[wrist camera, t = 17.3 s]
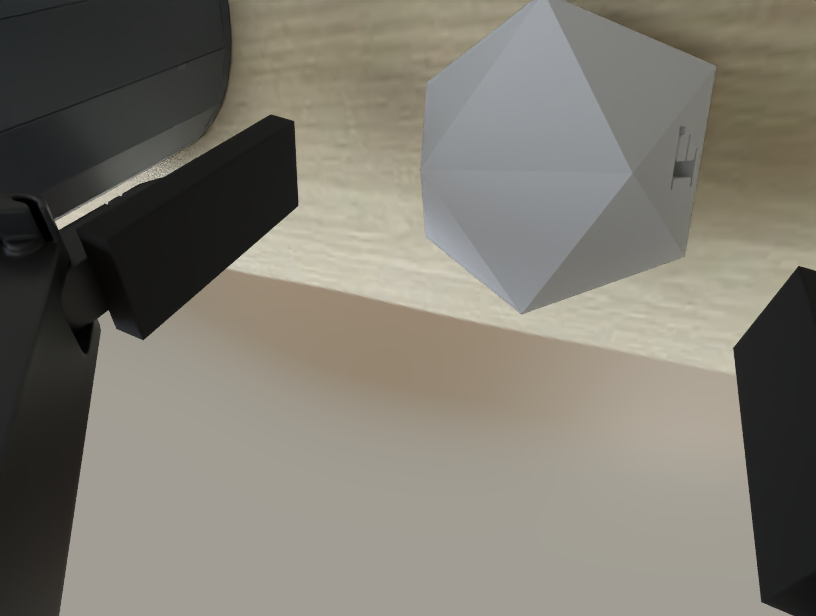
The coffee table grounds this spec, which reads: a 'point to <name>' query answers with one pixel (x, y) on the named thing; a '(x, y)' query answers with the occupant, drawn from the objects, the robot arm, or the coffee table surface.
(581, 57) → the die
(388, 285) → the coffee table surface
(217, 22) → the pot
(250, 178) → the robot arm
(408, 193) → the coffee table surface
